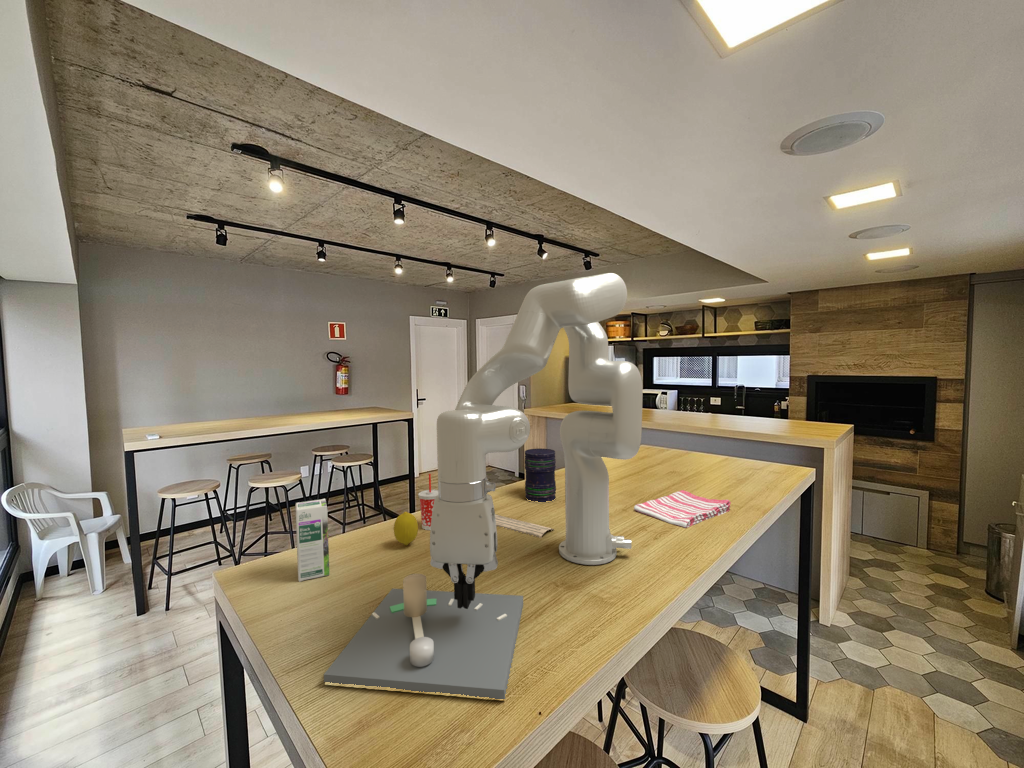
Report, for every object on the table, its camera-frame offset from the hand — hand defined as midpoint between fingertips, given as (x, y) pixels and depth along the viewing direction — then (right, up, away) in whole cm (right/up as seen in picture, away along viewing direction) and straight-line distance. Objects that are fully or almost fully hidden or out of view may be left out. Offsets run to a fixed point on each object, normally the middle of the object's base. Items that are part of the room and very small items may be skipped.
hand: (465, 603), depth 68 cm
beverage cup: (-14, -3, +44) cm, 47 cm away
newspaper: (+7, -3, +46) cm, 47 cm away
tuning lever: (-7, -3, -4) cm, 8 cm away
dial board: (-4, -4, -2) cm, 6 cm away
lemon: (-17, -3, +33) cm, 37 cm away
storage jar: (+17, -2, +68) cm, 70 cm away
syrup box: (-33, -4, +20) cm, 39 cm away
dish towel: (+56, -2, +54) cm, 78 cm away
